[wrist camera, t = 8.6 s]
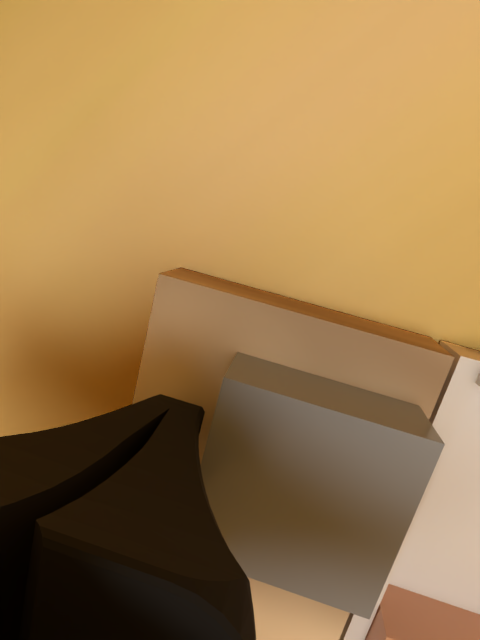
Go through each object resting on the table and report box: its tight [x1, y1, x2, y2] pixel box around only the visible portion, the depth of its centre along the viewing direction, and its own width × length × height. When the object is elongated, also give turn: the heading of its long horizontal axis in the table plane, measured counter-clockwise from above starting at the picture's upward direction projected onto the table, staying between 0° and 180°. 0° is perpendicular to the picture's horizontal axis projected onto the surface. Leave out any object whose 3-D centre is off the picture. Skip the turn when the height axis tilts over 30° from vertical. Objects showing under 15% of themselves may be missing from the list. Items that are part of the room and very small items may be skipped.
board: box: [132, 268, 455, 640], centre depth 13 cm, size 15×8×2 cm, turn 166°
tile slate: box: [200, 352, 445, 619], centre depth 10 cm, size 5×5×2 cm
